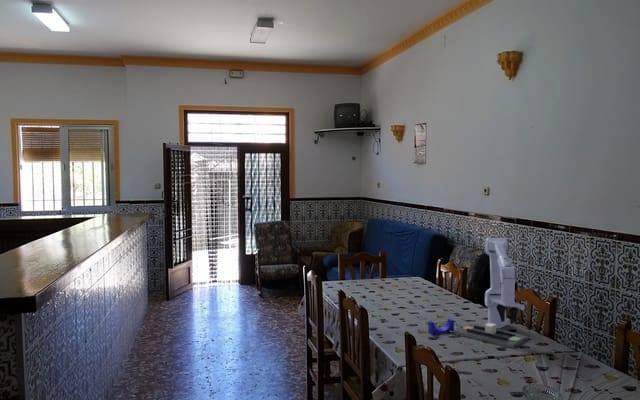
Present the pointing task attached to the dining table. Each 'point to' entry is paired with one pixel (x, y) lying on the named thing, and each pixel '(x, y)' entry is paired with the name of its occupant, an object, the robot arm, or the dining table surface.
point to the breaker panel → (492, 335)
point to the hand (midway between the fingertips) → (507, 322)
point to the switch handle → (490, 328)
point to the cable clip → (441, 330)
